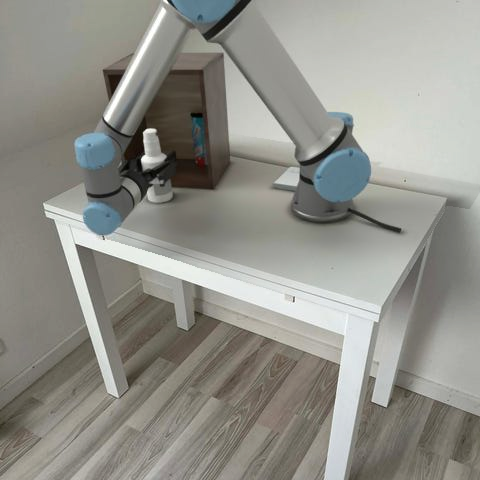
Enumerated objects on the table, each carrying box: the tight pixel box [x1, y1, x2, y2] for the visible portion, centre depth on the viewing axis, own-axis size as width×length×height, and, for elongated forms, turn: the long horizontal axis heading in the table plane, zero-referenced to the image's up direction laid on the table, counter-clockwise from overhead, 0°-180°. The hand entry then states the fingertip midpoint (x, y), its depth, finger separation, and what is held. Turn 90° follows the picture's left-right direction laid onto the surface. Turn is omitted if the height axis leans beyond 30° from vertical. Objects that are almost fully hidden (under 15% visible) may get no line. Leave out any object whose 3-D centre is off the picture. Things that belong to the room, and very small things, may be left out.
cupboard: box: [101, 52, 231, 190], centre depth 136 cm, size 19×26×30 cm
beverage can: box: [190, 113, 207, 165], centre depth 145 cm, size 6×6×15 cm
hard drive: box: [272, 166, 300, 192], centre depth 137 cm, size 2×8×12 cm
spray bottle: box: [141, 129, 174, 204], centre depth 128 cm, size 7×7×18 cm
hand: (161, 154), depth 131 cm, fingers closed on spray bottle, 7 cm apart
